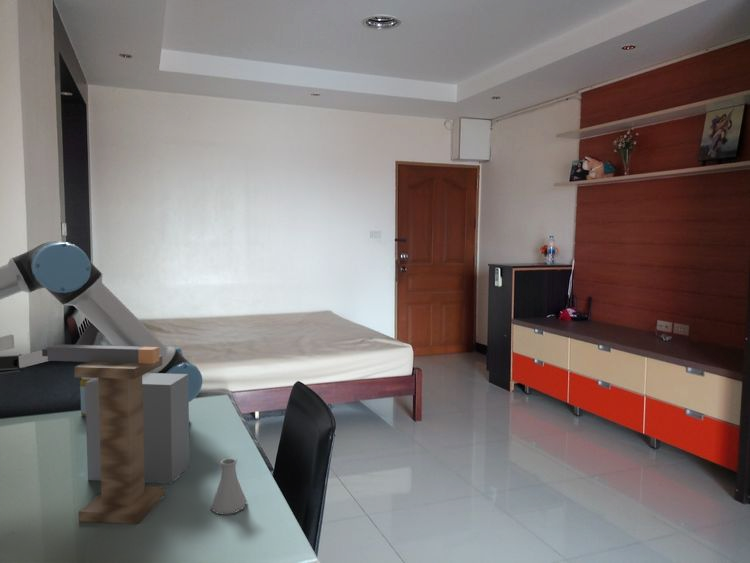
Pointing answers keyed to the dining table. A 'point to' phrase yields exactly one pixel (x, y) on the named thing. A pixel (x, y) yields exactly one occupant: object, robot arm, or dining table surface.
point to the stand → (120, 444)
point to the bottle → (83, 395)
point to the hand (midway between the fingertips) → (32, 348)
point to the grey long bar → (102, 353)
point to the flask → (228, 490)
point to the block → (149, 427)
